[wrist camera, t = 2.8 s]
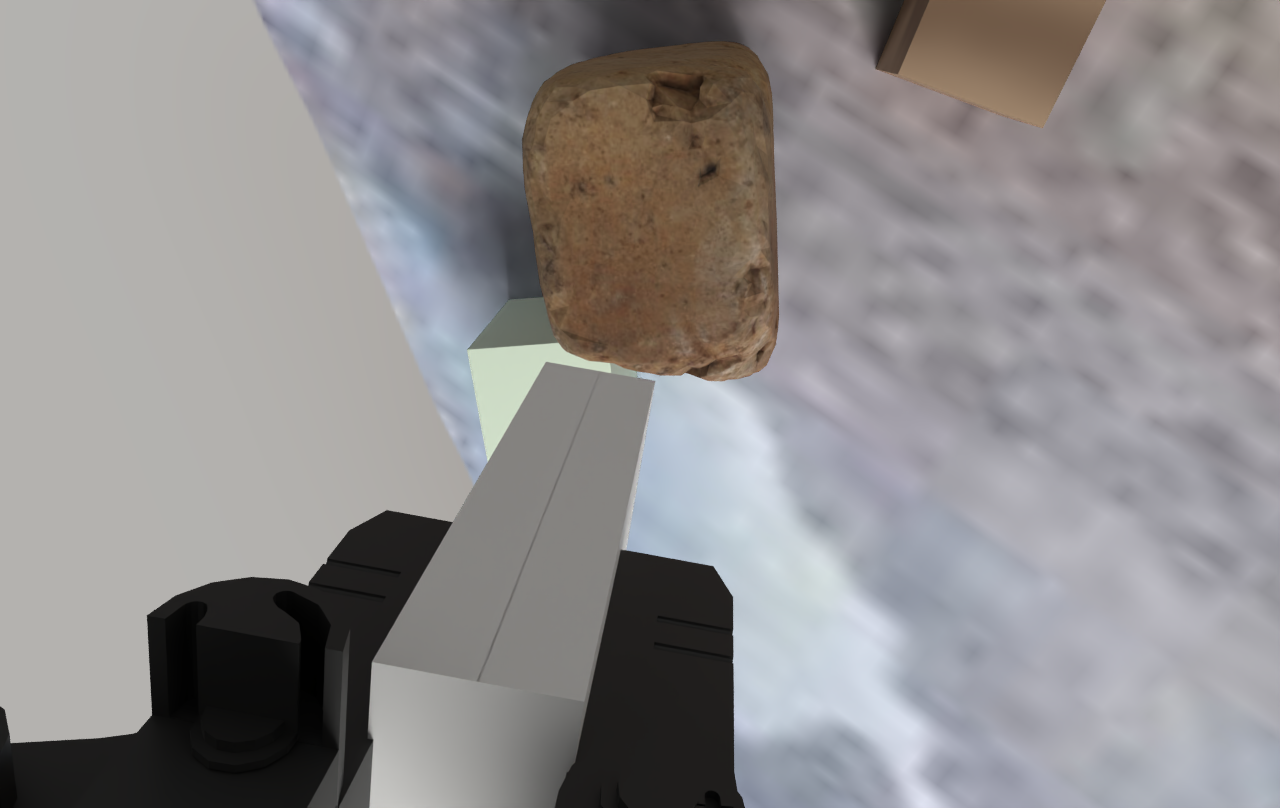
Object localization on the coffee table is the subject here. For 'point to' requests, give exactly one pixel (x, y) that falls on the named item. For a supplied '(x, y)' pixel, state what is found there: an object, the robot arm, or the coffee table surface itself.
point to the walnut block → (991, 50)
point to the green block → (516, 363)
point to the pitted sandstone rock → (658, 209)
